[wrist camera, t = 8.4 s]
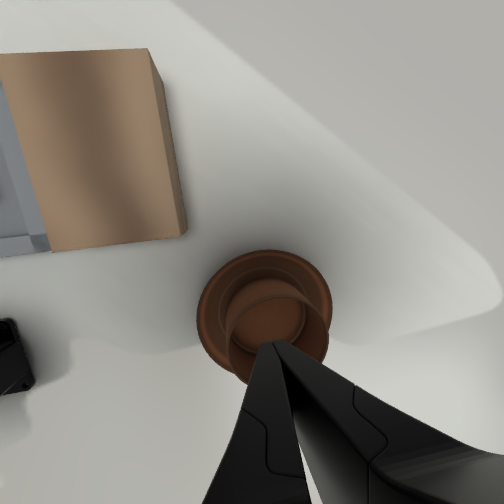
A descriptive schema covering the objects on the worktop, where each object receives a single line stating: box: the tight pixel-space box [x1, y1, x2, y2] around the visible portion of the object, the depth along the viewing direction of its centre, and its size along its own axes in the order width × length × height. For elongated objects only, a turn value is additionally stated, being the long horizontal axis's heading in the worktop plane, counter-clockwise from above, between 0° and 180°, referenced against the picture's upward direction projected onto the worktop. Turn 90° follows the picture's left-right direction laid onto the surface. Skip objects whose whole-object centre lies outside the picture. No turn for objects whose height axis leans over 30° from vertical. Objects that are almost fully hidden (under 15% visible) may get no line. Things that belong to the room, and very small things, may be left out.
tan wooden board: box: [0, 48, 187, 253], centre depth 17 cm, size 8×11×4 cm
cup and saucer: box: [196, 250, 333, 385], centre depth 20 cm, size 12×12×6 cm
